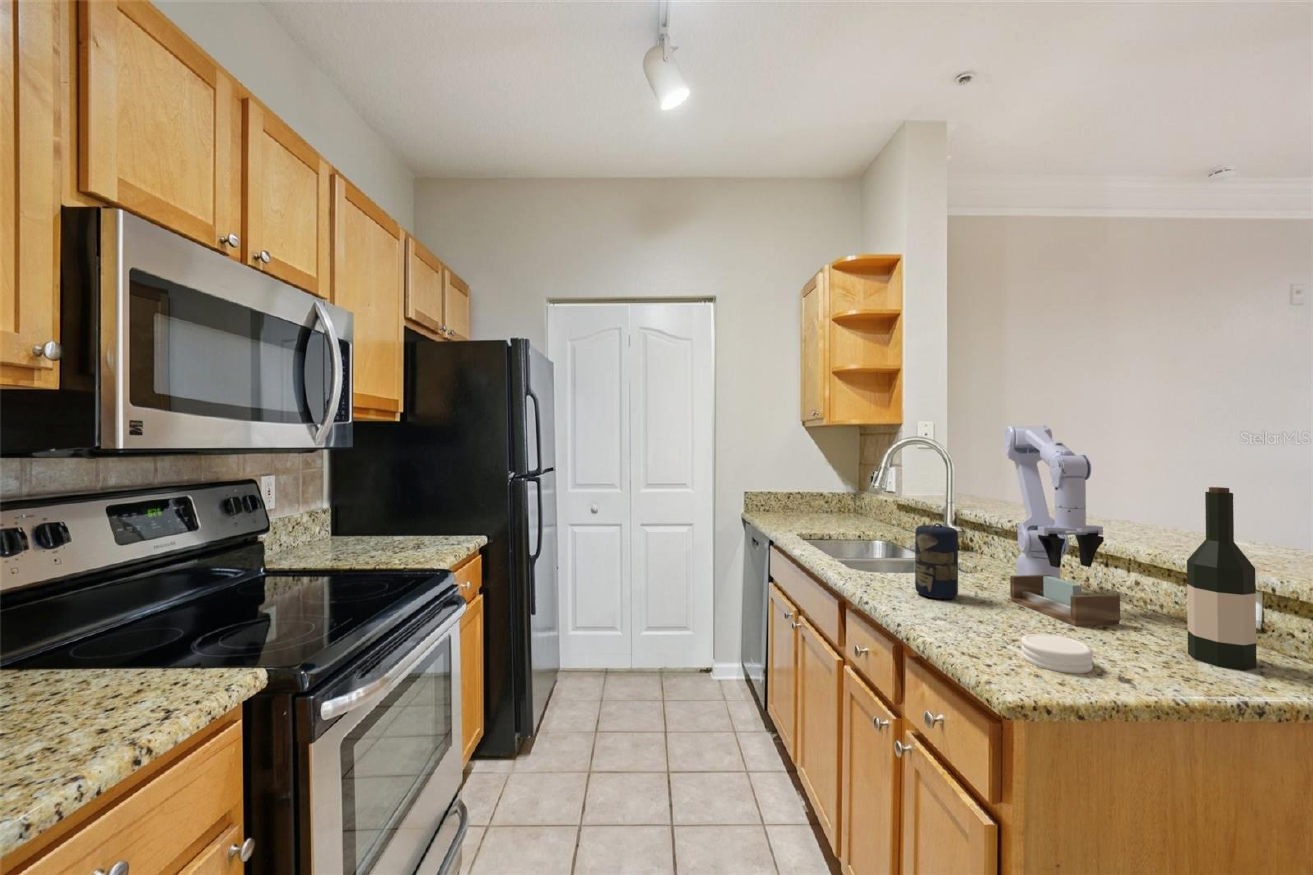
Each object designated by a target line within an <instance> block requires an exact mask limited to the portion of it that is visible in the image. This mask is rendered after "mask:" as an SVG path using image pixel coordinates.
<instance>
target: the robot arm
mask: <svg viewBox="0 0 1313 875" xmlns="http://www.w3.org/2000/svg"><path fill="white" fill-rule="evenodd" d="M1052 433H1053V432H1052V430H1051V428H1050V427H1049V426H1048V425H1029V426H1028V425H1025V426H1024V425H1023V426H1021V425H1020V426H1019V425H1014V426H1013V425H1008V426H1007V427H1006V428H1005V430H1004V434H1003V435H1004V437H1003V443H1004V448H1005V449H1004V450H1005V452H1006V456H1007V459H1008V460H1010V461H1013V462H1014V465H1015V469H1016V472H1017V473H1016V474H1017V477H1018V482H1019V483H1018V484H1019V487H1020V492H1021V496H1022V501H1023V506H1024V510H1025V514H1026V519H1025V520H1023V521H1022V522H1020V523H1019V524H1018V526H1017V528H1016V532H1017V544H1018V548H1019V550H1020V551H1021V554H1020V555H1019V556H1018V557H1017V560H1016V576H1020V575H1051V576H1053V577H1055V578H1059V579H1061V566H1062V559H1063V558H1064V556H1065V555H1066V554H1067V553H1068V552H1069V549H1070V538H1069V536H1075V539H1076V541H1077V545H1078V550H1079V562H1080V566H1083V567H1087V568H1092V566H1093V561H1094V558H1095V556H1096V553H1097V551H1098V550H1099V548H1100V546H1101V545H1102V544H1103V543H1104V540H1105V537H1104V536H1103V535H1104V526H1102V525H1092V524H1091V525H1088V524H1087V516H1086V515H1087V510H1086V509H1087V500H1086V499H1087V497H1086V494H1087V492H1086V489H1087V488H1086V481H1087V480H1089V478H1090V477H1091V475H1092V474H1091V473H1092V463H1091V460H1090V459H1089V457H1088V456H1087V455H1086V454H1078V455H1076V454H1075V453H1074V452H1073V451H1072V450H1070V449H1069V448H1068V447H1067V446H1066V445H1065V444H1064V443H1063V441H1061V440H1053V434H1052ZM1040 461H1043V462H1044V463H1045V464H1046V465H1047V466H1048V467H1049V469H1048V470H1049V474H1050V477H1051V484H1052V487H1054V518H1052V517H1051V516H1050V513H1049V508H1048V505H1047V500H1046V496H1045V492H1044V486H1043V484H1042V483H1043V482H1042V479H1041V476H1040V475H1041V474H1040V470H1039V467H1038V462H1040Z"/></svg>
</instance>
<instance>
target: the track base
mask: <svg viewBox="0 0 1313 875" xmlns="http://www.w3.org/2000/svg"><path fill="white" fill-rule="evenodd" d="M1047 576H1051V575H1020V576H1017V575H1010V576H1009V578H1010V579H1009V583H1010V584H1009V585H1010V587H1009V589H1010V590H1009V591H1010V592H1009V593H1010V601H1011V602H1012V603H1015V604H1017V605H1020V606H1023V607H1025V608H1028V609H1030V610H1032V611H1036V612H1039V613H1040V614H1043V615H1046V616H1049V617H1052V618H1054V619H1056V620H1059V621H1062V622H1064V623H1066V624H1068V625H1071V626H1074V627H1081V626H1112V625H1113V626H1114V625H1118V626H1119V625H1120V621H1121V596H1120V595H1118V594H1111V593H1110V594H1108V593H1107V594H1081V595H1070V598H1071V607H1070V606H1068V605H1065V604H1062V603H1059V602H1056V601H1053V600H1051V599H1048V598H1045V597H1044V583H1043V577H1047ZM1052 577H1053V576H1052Z"/></svg>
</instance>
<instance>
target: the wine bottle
mask: <svg viewBox="0 0 1313 875" xmlns="http://www.w3.org/2000/svg"><path fill="white" fill-rule="evenodd" d="M1204 493H1205V495H1204V496H1205V498H1204V499H1205V503H1204V505H1205V539H1204V541H1203V542H1202V543H1201V544H1200V545H1199V546H1198V547H1197V548H1196V549H1195V550H1194V552H1193V553H1192V554H1191V555H1190V556H1189V557H1188V558H1187V560H1186V594H1187V595H1186V596H1187V597H1186V599H1187V600H1186V601H1187V602H1186V603H1187V604H1186V605H1187V606H1186V608H1187V618H1186V619H1187V654H1188V655H1189V656H1190V657H1191V658H1192V659H1194V661H1198V662H1201V663H1203V664H1208V665H1211V664H1212V666H1214V665H1215V666H1214V667H1217V668H1226V669H1231V668H1232V669H1231V670H1238V669H1239V670H1240V671H1249V670H1255V669H1257V668H1258V667H1257V665H1258V664H1257V663H1258V662H1257V661H1258V660H1257V604H1256V603H1257V592H1256V586H1257V585H1256V567H1255V566H1254V565H1253V563H1252V562H1251V561H1250V560H1249V559H1248V557H1247V556H1246V555H1245V554H1244V552H1243V551H1242V550H1241V549H1240V548H1239V547H1238V545H1237V544H1236V542H1235V540H1234V538H1235V534H1234V532H1235V530H1234V529H1235V528H1234V526H1235V524H1234V523H1235V522H1234V518H1235V517H1234V493H1233V492H1230V488H1229V487H1219V486H1218V487H1217V486H1216V487H1214V486H1209V487H1208V491H1205V492H1204Z"/></svg>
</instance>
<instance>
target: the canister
mask: <svg viewBox="0 0 1313 875" xmlns="http://www.w3.org/2000/svg"><path fill="white" fill-rule="evenodd" d="M914 539H915V540H914V542H915V546H914V550H915V551H914V564H915V565H914V581H915V582H914V585H915V587H914V588H915V591H916V592H917V593H918V594H920V595H922V596H925V597H929V598H935V599H953V598H955V597H957V596H958V595H959V532H958V530H957V529H956V528H953V527H951V526H944V525H942V524H941V523H939V522H936V523H934V524H933V525H932V524H931V525H930V524H927V525H925V524H924V525H923V524H922V525H919V526H917V527H916V528H915V537H914Z"/></svg>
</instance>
